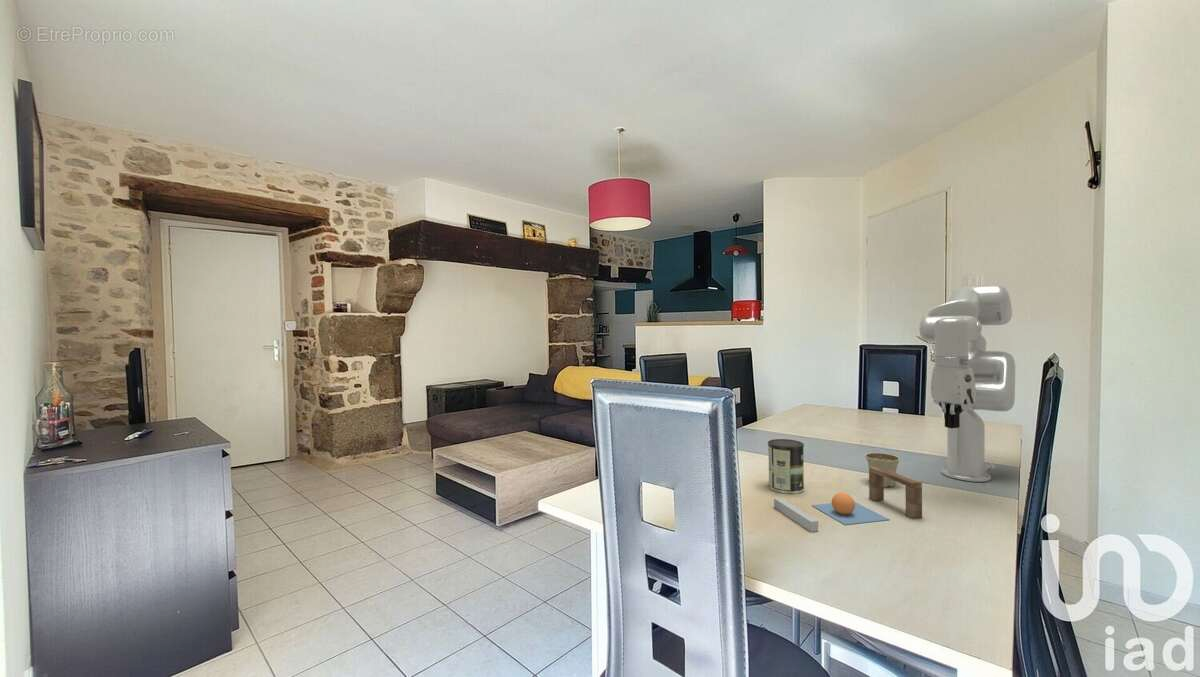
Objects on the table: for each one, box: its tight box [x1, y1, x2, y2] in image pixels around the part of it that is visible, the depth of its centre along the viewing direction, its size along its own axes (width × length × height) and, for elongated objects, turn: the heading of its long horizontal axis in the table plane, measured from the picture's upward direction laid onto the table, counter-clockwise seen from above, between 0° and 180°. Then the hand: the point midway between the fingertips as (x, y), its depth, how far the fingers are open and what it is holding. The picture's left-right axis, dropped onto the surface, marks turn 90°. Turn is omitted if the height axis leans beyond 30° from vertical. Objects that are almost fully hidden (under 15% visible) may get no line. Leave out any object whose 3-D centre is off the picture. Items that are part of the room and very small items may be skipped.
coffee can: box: [767, 438, 805, 495], centre depth 144 cm, size 10×10×14 cm
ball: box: [831, 492, 856, 515], centre depth 123 cm, size 6×6×6 cm
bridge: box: [868, 466, 923, 520], centre depth 127 cm, size 3×14×9 cm, turn 11°
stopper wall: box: [773, 497, 819, 533], centre depth 121 cm, size 2×16×2 cm, turn 11°
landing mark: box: [811, 501, 890, 526], centre depth 124 cm, size 13×13×1 cm
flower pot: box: [864, 452, 901, 488], centre depth 146 cm, size 9×9×9 cm
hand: (952, 427), depth 131 cm, fingers closed
